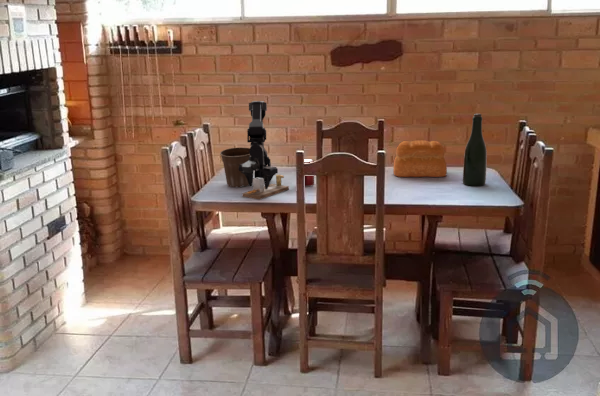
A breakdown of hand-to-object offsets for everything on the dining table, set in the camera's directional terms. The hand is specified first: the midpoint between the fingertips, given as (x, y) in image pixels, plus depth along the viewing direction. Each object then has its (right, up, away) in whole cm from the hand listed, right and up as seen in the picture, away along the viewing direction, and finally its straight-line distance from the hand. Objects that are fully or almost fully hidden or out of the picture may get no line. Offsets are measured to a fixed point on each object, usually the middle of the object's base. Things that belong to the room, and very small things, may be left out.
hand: (258, 187), depth 278 cm
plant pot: (-11, +2, +21) cm, 24 cm away
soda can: (+22, +1, +18) cm, 28 cm away
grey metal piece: (-2, -2, -2) cm, 3 cm away
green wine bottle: (+100, +2, +12) cm, 101 cm away
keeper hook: (+9, +1, +11) cm, 15 cm away
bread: (+79, +7, +34) cm, 87 cm away
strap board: (+3, -2, +5) cm, 6 cm away
